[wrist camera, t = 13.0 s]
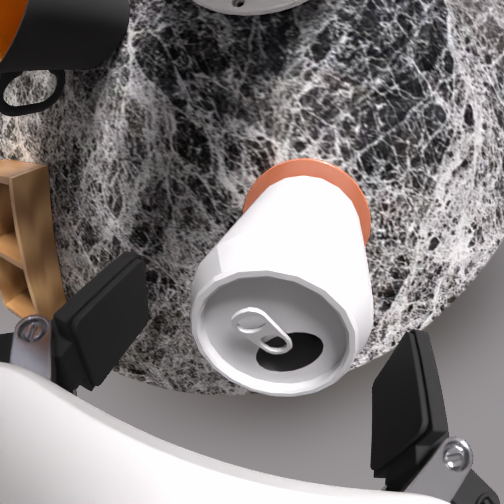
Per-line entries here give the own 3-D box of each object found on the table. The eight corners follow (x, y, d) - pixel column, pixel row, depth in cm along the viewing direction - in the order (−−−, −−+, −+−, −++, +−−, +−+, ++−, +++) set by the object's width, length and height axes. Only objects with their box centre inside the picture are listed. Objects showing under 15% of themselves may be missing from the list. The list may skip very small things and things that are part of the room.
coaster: (255, 145, 20) (253, 146, 19) (385, 178, 18) (386, 179, 18) (236, 260, 24) (234, 263, 24) (348, 290, 23) (348, 294, 22)
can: (293, 290, 23) (254, 423, 13) (231, 213, 22) (137, 311, 11) (379, 241, 20) (409, 372, 9) (317, 150, 18) (292, 200, 8)
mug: (47, 99, 22) (-40, 116, 13) (81, -12, 16) (-4, -26, 7) (100, 117, 22) (-1, 137, 13) (145, -13, 16) (51, -47, 7)
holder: (4, 158, 27) (-26, 169, 22) (48, 165, 25) (12, 178, 21) (26, 289, 36) (4, 306, 32) (70, 315, 34) (46, 336, 30)
